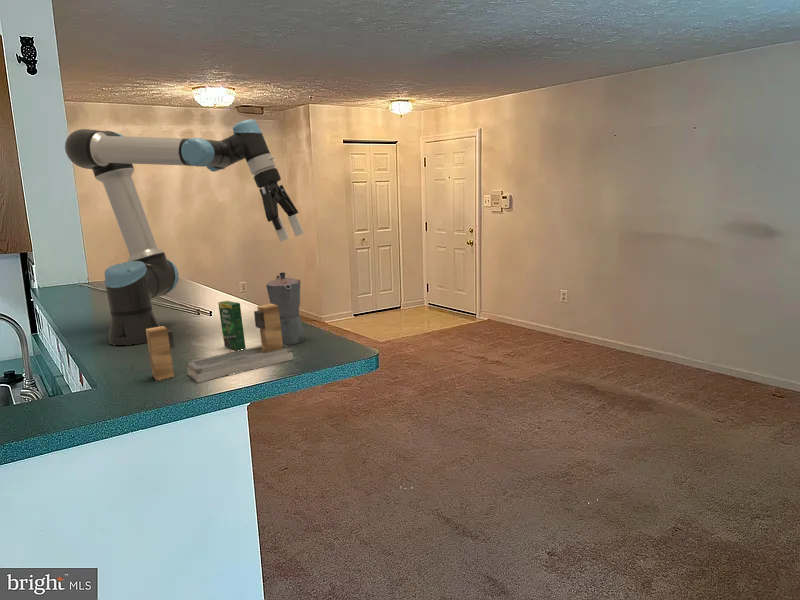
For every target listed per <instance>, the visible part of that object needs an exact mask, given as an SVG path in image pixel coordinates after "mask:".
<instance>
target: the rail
mask: <svg viewBox="0 0 800 600" xmlns="http://www.w3.org/2000/svg"><path fill="white" fill-rule="evenodd" d="M293 355H294V354H293V347H291V346H290V345H285V344H283V348H281V349H277V350H273V351H268V352H262V344H261V345H257V346H253V347H249V348H245V349H243V350H239V351H237V350H234V351H231V352H230V351H229V352H226V353H225V352H224V353H221V354H215V355H212V356H209V357H208V356H207V357H203V358H200V359H194V360H191V361H189V360H188V361H186V363H185V364H186V371H187V375H188V376H189V377H190V378H192V379H193V381H195V382H196V383H203V382H207V381H211V379H212V380H215V378H216V379H218V378H217V377H220V376H224V377H226V376H225V375H228V376H231V375H230V374H232V375H234V374H233V373H236V374H238V373H237V372H240V373H242V372H241V371H244V372H246V371H245V370H248V371H251V370H250V369H252V370H255V369H254V368H256V369H260V368H259V367H261V368H264V366H265V367H268V366H273V365H277V364H279V363H284V362H289V361H293V360H294V356H293ZM220 378H221V377H220Z"/></svg>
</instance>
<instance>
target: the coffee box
mask: <svg viewBox="0 0 800 600" xmlns="http://www.w3.org/2000/svg"><path fill="white" fill-rule="evenodd" d="M217 304H218V311H219V316H220V324H221V330H222V331H221V332H222V339H223V344H224V347H225V346H226V347H225V348H227V347H228V348H229V349H232V350H234V351H238V350H241V349H247V348H246V341H245V334H244V333H245V332H244V325H243V318H242V309H241V302H236V301H235V302H234V301H230V300H223V301H219V302H217Z"/></svg>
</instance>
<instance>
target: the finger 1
mask: <svg viewBox="0 0 800 600" xmlns="http://www.w3.org/2000/svg"><path fill="white" fill-rule="evenodd" d="M146 335H147V342H146V343H147V347H148V353H149V354H148V355H149V360H150V366H151V372H152V378H153V379H155V381H157V380H159V381H162V379H163V380H167V379H171V378H170V377H172V378H175V373H174V365H173V359H172V353H171V352H172V351H171V349H175V348H176V346H175V339H174V333H173V330H171V329H168V328H167V327H166V326H164V325H162V326H161V325H160V327H154V328H149V329H146ZM166 378H167V379H166Z"/></svg>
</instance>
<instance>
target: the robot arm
mask: <svg viewBox="0 0 800 600" xmlns="http://www.w3.org/2000/svg"><path fill="white" fill-rule="evenodd" d="M259 126H260V125H258V122H257V121H256V120H255V119H251V118H250V119H245V120H241V121H239V122H237V123H236V124H235V125H233V127H232V131H233V134H232V135H230V136H228V137H226V138H223V139H221V140H213V139H204V138H201V137H191V138H185V137H184V138H183V137H182V138H181V137H157V136H156V137H152V136H151V137H150V136H125V135H123V134H121V133H118V132H115V131H112V130H111V131H110V130H99V129H98V130H96V129H90V128H89V129H87V128H81V129H77V130H75V131H72V132H71V133H70V134H69V135H68V136H67V137H66V140H65V143H64V150H65V153H66V155H67V158H68V159H69V160H70V162H72V163H73V164H74V165H75V166H77V167H79V168H82V169H85V170H92V172H93V175H94V177H95V180H97V181H99V182H101V183H102V184H103V187H104V189H105V192H106V195H107V198H108V201H109V204H110V206H111V208H112V211H113V214H114V216H115V219H116V221H117V222H116V223H117V224H118V228H119V229H120V232H121V236H122V238H123V241H124V243H125V246H126V248H127V251H128V254H129V256H128V259H127V261H125V262H121V263H116V264H113V265H110V266H109V267H107V268H106V269H105V271H104V285H105V288H106V292H107V293H106V294H107V300H108V306H109V311H110V312H109V313H110V318H111V319H110V322H109V323H110V325H109V330H108V335H107V339H108V344H109V343H111V344H115V345H126V346H133V345H132V344H135V345H140V344H145V343H148V342H147V335H146V329H149V328H154V327H160V326H161V325H160V323H159V321H158V318H157V317H156V315H155V314H154V311H153V306H152V304H153V303H152V300H154V299H157V298H159V297H162V296H165V295H168V294H169V293H171V292H172V291H173V290H174V289H175V288H176V287H177V284H178V283H179V277H180V274H179V270H178V267H177V266H176V264H175V263H174V262H173V261H171V260H170V259H168V258H167V256H166V254H165V251H163V250H162V249H161V248H159V247H158V246H157V244H156V241H155V238H154V235H153V233H152V229H151V227H150V224H149V221H148V219H147V216H146V212H145V211H144V207H143V204H142V202H141V200H140V199H141V198H140V197H139V194H138V192H137V187H136V186H135V183H134V180H133V177H132V175H133V173H134V171H135V168H134V165H161V166H162V165H163V166H188V167H202V168H203V167H206V168H207V170H209V171H210V172H214V173H215V172H218V171H220V170H225V169H226V168H227V167H229V166H231V165H234V164H236V163H238V162H240V161H242V160H245V162H246V163H247V166H248V168H249V171H250V173H251V175H253V179H254V182H255V184H256V187H257V188H259V189H258V190H259V192H260V195H261V199H262V204H263V207H264V208H263V209H264V213H265V218H266V220H267V221H268V222H269V223H270V222H271V223H272V225H273V228H274V231H275V232H276V235H277V237H278V239H279V242H283V241H285V240H288V239H290V237H289V234H288V233H287V230H286V226H284V222H283V220H282V218H281V217H280V216H279V208H278V205H279V206H280V207H281V209H282V211H284V212H285V214H286V215H287V219H288V221H289V224H290V227H291V229H292V231H293V233H294V236H295V237H298V236H300V235H303V234H305V231H304V229H303V228H302V225H301V222H300V221H299V218H298V216H297V214H299V210H298V209H297V208H296V205H295V203H293V201H292V200H291V198H290V197H289V194H288V193H287V192H286V190H285V189H286V188H285V187H284V185H283V184H281V185H279V184H278V182H280V181H281V179H282V177H281V175H280V173H279V170H278V168H276V164H275V162H274V156H273V155H272V154H271V151H270V149H269V147H268V145H267V144H268V143H266V140H265V137H264V135H263V132H262V131H261V128H260V127H259ZM115 345H114V346H115Z"/></svg>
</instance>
